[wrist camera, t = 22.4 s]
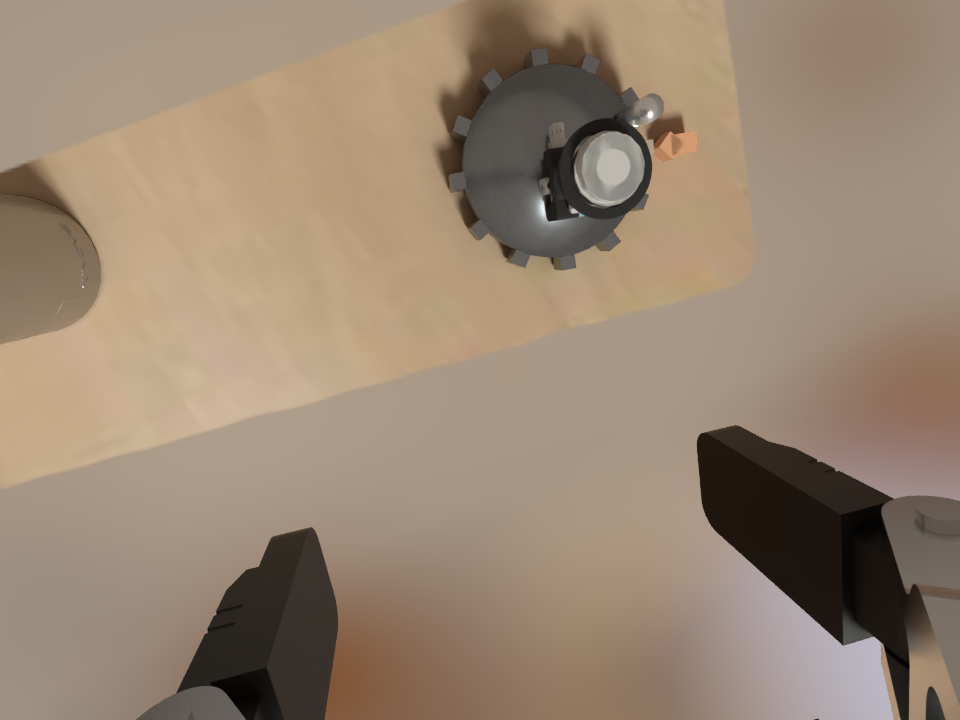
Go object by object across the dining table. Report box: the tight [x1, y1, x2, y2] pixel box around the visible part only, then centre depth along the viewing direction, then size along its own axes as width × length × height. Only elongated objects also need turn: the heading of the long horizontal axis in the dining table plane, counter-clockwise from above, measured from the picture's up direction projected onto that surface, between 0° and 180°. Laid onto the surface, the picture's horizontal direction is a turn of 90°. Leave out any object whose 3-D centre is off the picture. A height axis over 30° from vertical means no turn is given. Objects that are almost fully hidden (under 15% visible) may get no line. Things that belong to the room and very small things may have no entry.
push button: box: [539, 118, 652, 222], centre depth 33 cm, size 7×5×10 cm
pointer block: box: [654, 131, 697, 162], centre depth 40 cm, size 3×2×2 cm, turn 100°
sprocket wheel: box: [448, 48, 664, 270], centre depth 37 cm, size 15×15×6 cm
